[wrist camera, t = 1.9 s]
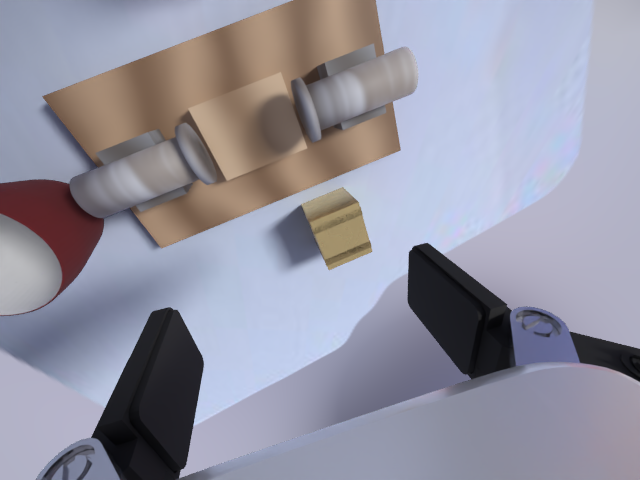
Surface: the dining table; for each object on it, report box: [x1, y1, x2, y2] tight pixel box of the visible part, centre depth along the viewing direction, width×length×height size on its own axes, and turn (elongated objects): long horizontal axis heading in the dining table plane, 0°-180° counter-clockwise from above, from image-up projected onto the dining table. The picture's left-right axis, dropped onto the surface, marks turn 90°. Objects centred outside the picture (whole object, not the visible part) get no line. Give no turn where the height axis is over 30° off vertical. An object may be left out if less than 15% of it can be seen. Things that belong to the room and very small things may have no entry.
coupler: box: [301, 187, 372, 270], centre depth 29 cm, size 6×5×5 cm
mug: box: [0, 180, 104, 316], centre depth 20 cm, size 10×8×10 cm
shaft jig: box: [42, 0, 418, 248], centre depth 21 cm, size 26×14×8 cm, turn 109°
